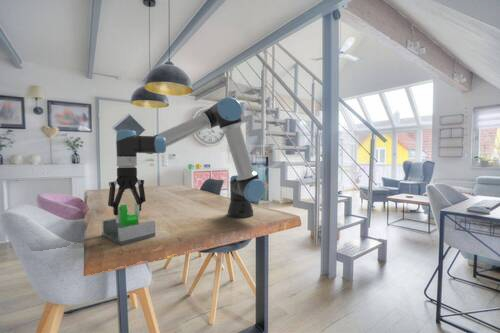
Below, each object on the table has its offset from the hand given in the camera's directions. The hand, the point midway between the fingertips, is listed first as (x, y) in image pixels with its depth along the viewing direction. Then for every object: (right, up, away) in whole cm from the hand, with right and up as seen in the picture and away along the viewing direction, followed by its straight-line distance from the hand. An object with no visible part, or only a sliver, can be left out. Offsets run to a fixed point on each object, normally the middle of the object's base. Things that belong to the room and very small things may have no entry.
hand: (128, 220), depth 101 cm
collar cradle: (0, -6, 0) cm, 6 cm away
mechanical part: (0, -1, 0) cm, 1 cm away
